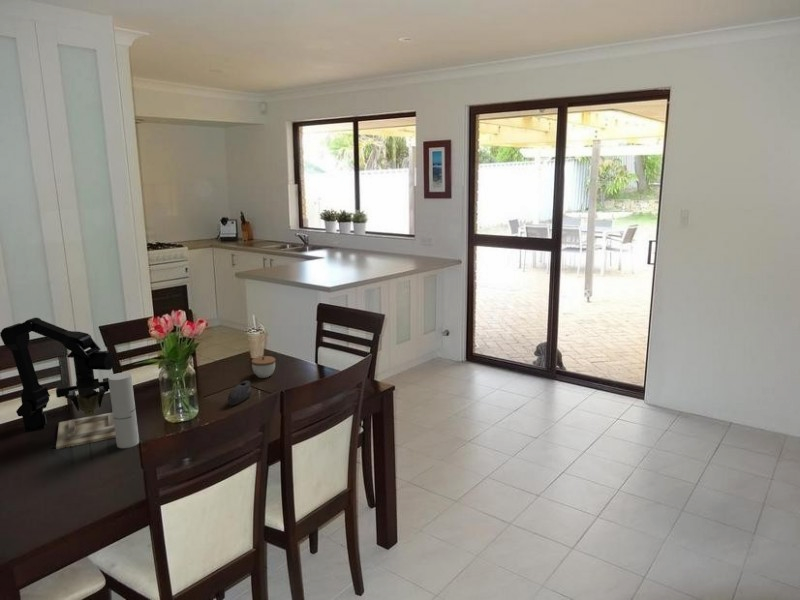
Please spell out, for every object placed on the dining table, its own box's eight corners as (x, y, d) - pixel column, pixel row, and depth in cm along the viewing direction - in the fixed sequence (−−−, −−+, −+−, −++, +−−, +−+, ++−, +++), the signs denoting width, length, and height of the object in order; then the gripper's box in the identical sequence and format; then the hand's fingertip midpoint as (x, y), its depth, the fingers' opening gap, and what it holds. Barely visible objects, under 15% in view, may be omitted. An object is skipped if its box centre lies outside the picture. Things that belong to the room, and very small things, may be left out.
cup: (78, 419, 203) (75, 399, 201) (78, 412, 209) (75, 392, 207) (101, 415, 206) (98, 395, 204) (101, 408, 212) (98, 388, 211)
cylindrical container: (143, 440, 201) (136, 373, 195) (128, 449, 194) (119, 380, 188) (127, 437, 203) (119, 371, 197) (112, 446, 196) (103, 378, 191)
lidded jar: (273, 379, 258) (272, 360, 256) (249, 379, 259) (248, 360, 257) (278, 371, 269) (277, 352, 267) (256, 371, 269) (254, 352, 267)
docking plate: (56, 449, 194) (55, 442, 194) (59, 424, 213) (58, 418, 213) (127, 435, 204) (126, 428, 204) (124, 413, 223) (123, 407, 223)
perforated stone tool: (234, 409, 227) (232, 393, 225) (223, 407, 228) (221, 391, 227) (255, 395, 241) (254, 380, 239) (245, 394, 242) (243, 378, 241)
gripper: (52, 380, 192) (58, 422, 196) (113, 371, 201) (118, 412, 204) (54, 370, 202) (60, 410, 205) (112, 362, 211) (117, 401, 214)
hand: (89, 408), depth 207 cm, fingers closed on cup, 6 cm apart
